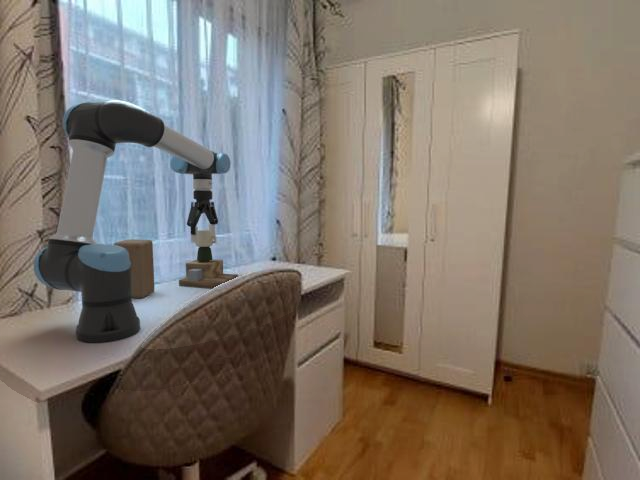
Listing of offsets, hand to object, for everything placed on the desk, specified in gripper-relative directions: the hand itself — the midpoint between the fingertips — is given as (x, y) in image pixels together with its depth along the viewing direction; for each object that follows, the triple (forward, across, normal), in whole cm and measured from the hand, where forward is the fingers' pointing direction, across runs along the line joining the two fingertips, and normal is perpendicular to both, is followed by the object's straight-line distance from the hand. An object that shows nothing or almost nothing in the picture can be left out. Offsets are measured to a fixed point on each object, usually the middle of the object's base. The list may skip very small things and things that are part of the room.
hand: (203, 241), depth 161 cm
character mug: (+9, 0, 0) cm, 9 cm away
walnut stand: (+17, -2, -4) cm, 18 cm away
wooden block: (+18, -26, +12) cm, 34 cm away
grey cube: (+15, -7, -1) cm, 17 cm away
